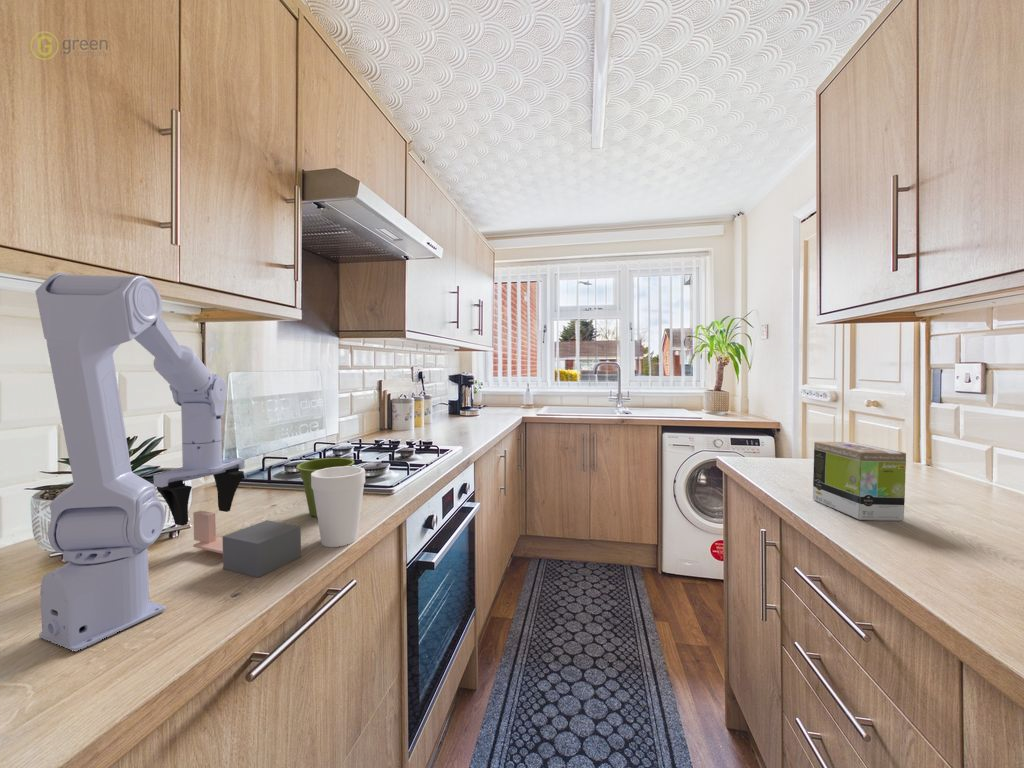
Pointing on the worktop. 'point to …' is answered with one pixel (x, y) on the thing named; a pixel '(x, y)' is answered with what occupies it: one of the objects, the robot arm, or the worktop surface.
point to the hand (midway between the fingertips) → (203, 517)
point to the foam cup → (338, 503)
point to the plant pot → (315, 465)
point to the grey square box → (261, 548)
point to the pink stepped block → (206, 532)
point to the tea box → (860, 480)
